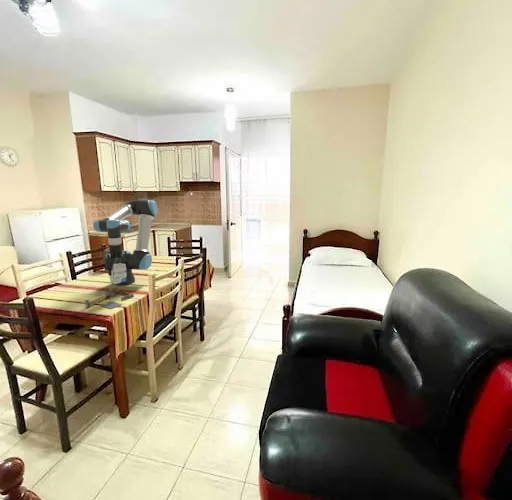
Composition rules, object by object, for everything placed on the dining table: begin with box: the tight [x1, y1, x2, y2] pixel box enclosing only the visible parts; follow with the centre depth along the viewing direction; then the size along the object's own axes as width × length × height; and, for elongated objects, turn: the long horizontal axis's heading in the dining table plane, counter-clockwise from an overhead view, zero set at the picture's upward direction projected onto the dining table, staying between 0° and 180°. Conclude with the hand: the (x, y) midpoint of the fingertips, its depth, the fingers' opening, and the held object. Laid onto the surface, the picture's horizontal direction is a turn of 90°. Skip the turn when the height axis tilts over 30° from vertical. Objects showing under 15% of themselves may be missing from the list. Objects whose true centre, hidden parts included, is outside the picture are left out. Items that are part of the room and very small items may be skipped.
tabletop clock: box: [102, 242, 114, 265], centre depth 264 cm, size 14×9×25 cm, turn 145°
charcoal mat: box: [100, 301, 123, 310], centre depth 186 cm, size 8×9×1 cm
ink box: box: [109, 263, 126, 285], centre depth 196 cm, size 8×5×12 cm, turn 146°
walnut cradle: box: [104, 286, 135, 302], centre depth 198 cm, size 13×14×5 cm
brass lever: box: [84, 290, 110, 309], centre depth 189 cm, size 3×19×4 cm, turn 166°
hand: (118, 277), depth 197 cm, fingers closed on ink box, 9 cm apart
